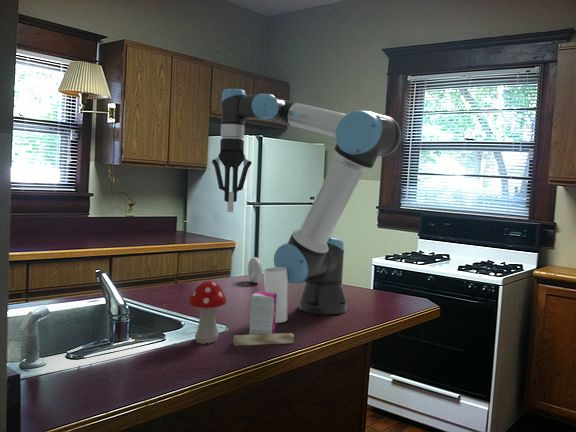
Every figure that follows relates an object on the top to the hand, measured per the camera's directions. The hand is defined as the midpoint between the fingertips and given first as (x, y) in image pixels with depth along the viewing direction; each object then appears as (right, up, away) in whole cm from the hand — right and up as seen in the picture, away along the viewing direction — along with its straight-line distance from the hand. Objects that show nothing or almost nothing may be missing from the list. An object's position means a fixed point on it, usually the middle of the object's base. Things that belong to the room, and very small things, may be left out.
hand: (230, 211), depth 184 cm
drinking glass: (+16, -32, -21) cm, 41 cm away
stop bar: (+13, -33, -42) cm, 55 cm away
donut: (+6, -27, +36) cm, 46 cm away
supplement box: (+12, -33, -37) cm, 51 cm away
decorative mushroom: (-2, -33, -42) cm, 53 cm away
